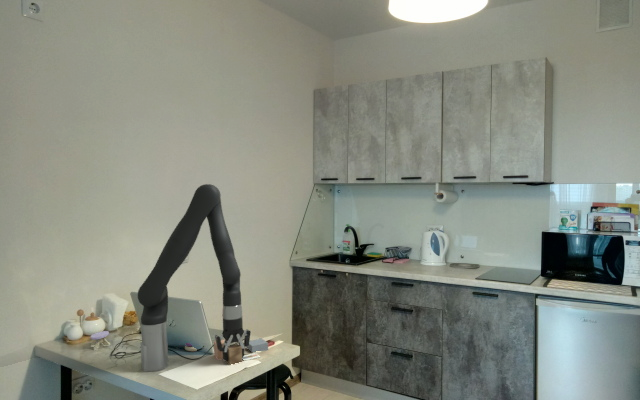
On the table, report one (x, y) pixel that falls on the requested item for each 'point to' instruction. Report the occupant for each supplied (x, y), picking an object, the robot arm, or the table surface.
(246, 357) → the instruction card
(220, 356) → the terracotta brick
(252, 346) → the base brick
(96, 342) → the toy table
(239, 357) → the walnut brick
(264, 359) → the table surface
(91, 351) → the table surface
